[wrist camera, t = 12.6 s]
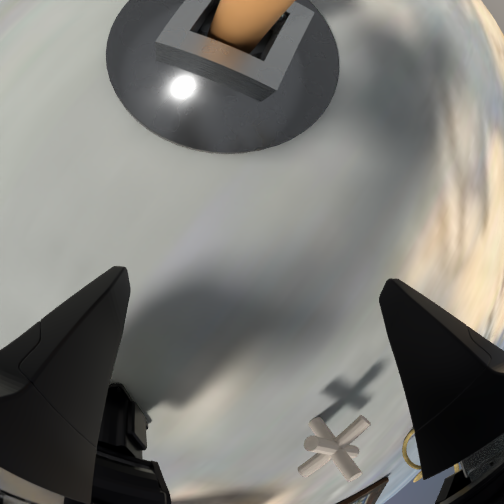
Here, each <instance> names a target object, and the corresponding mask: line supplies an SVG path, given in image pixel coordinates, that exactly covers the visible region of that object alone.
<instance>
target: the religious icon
mask: <svg viewBox="0 0 504 504" xmlns="http://www.w3.org/2000/svg"><path fill="white" fill-rule="evenodd" d="M388 481H389V480H388V477H386V478H383V479H381V480H379V481H378V482H376V483H374V484H373V485H371V486H369V487H367V488H366V489H364V490H362V491H360V492H358V493H357V494H355V495H353V496H351V497H349V498H347V499H345V500H343V501H341V502H339V503H337V504H375V503H376V501H377V499H378V497H379V496H380V494H381V492H382V490H383V489H384V487H385V486H386V484H387V482H388Z"/></svg>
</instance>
